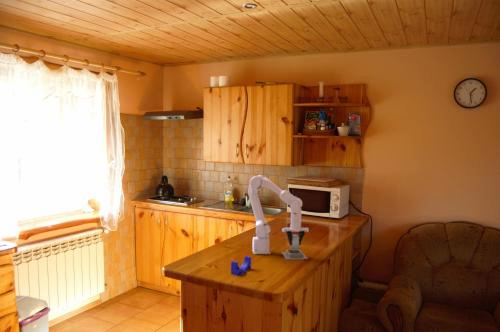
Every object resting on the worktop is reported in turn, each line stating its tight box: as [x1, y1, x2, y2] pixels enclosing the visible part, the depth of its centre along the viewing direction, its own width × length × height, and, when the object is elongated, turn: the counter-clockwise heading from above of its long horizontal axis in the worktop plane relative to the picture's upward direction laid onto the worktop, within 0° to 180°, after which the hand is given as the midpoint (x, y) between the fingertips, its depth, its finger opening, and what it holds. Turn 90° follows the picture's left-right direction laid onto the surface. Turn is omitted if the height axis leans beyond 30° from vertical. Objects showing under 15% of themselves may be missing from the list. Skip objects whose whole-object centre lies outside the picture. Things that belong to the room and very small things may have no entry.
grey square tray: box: [280, 249, 309, 261], centre depth 218 cm, size 12×12×3 cm
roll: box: [290, 234, 300, 250], centre depth 217 cm, size 4×4×7 cm
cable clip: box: [230, 255, 252, 276], centre depth 192 cm, size 12×4×6 cm, turn 143°
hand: (294, 244), depth 218 cm, fingers closed on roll, 4 cm apart
